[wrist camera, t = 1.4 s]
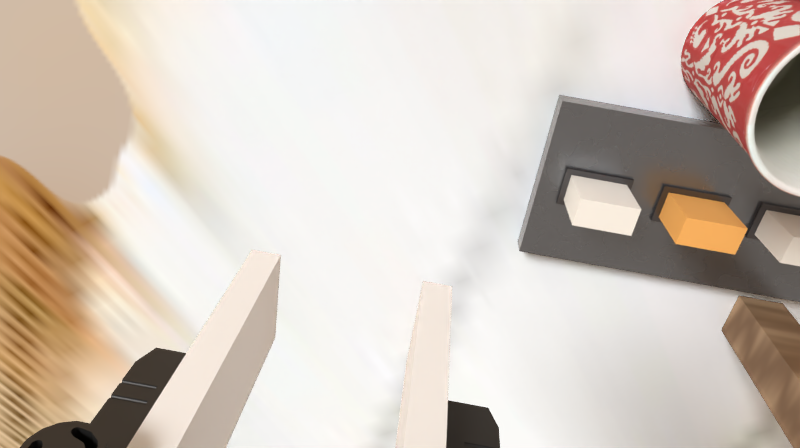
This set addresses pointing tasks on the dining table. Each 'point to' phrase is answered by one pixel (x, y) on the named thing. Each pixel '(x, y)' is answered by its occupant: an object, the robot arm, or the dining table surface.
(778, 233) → the cream rectangular box
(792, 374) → the post
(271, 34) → the dining table surface
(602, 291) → the dining table surface
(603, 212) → the paddle
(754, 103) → the mug
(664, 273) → the switch plate
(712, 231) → the block
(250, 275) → the robot arm
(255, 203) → the dining table surface
